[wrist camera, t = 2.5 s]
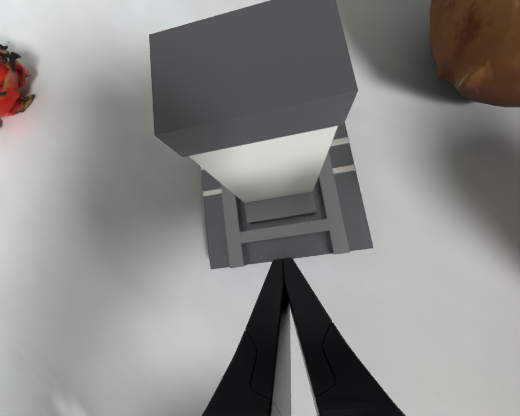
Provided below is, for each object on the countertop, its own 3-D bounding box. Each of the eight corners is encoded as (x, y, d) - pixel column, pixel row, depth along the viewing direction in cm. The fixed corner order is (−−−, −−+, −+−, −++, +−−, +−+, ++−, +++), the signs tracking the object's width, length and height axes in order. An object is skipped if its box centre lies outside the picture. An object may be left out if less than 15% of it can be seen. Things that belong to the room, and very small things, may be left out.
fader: (316, 213, 16) (371, 145, 5) (248, 224, 17) (157, 185, 5) (302, 139, 17) (321, -58, 6) (239, 152, 18) (147, -4, 7)
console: (367, 247, 16) (380, 248, 14) (216, 267, 18) (204, 271, 15) (326, 66, 19) (331, 41, 17) (199, 96, 21) (187, 77, 18)
